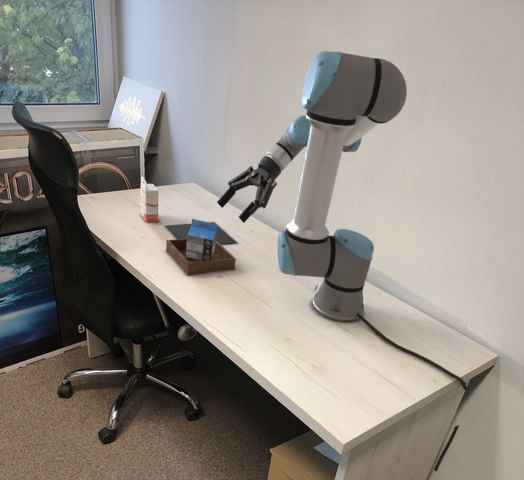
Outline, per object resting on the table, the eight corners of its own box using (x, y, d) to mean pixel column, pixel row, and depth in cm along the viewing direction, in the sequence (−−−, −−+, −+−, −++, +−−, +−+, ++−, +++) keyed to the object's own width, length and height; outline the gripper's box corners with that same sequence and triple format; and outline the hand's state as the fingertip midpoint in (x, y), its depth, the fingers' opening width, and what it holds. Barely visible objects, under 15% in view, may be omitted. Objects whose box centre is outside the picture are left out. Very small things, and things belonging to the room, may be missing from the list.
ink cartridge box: (158, 221, 182) (159, 182, 174) (145, 222, 180) (145, 182, 172) (153, 213, 188) (153, 175, 180) (140, 214, 186) (139, 175, 178)
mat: (236, 243, 175) (237, 242, 175) (185, 248, 166) (185, 247, 166) (213, 222, 189) (213, 222, 189) (165, 226, 179) (165, 225, 179)
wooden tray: (234, 269, 157) (235, 258, 155) (187, 275, 149) (188, 263, 147) (211, 246, 170) (211, 236, 168) (166, 250, 162) (166, 239, 160)
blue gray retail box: (185, 258, 158) (186, 222, 151) (189, 253, 161) (191, 218, 154) (210, 264, 157) (213, 228, 150) (214, 259, 160) (217, 224, 153)
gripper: (302, 183, 151) (256, 233, 151) (258, 160, 166) (217, 206, 167) (291, 166, 145) (244, 219, 145) (247, 144, 161) (204, 192, 161)
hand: (230, 212), depth 156 cm, fingers open, 13 cm apart
